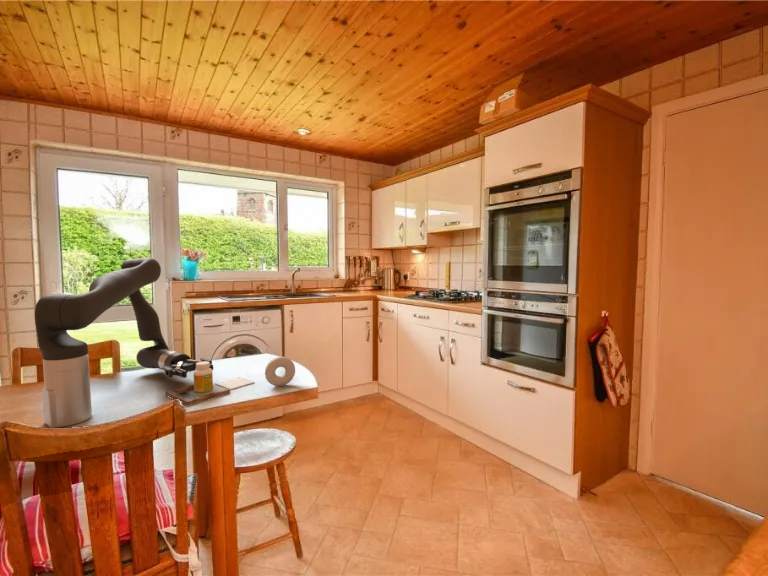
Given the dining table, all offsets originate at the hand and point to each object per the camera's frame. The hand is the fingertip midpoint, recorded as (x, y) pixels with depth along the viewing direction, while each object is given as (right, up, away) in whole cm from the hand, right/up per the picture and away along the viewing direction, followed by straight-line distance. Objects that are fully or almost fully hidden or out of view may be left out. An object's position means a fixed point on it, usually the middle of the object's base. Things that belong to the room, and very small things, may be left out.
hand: (199, 371), depth 124 cm
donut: (+25, -6, +6) cm, 26 cm away
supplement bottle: (+2, -7, -1) cm, 7 cm away
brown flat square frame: (+1, -7, -2) cm, 7 cm away
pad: (+9, -6, +8) cm, 13 cm away
